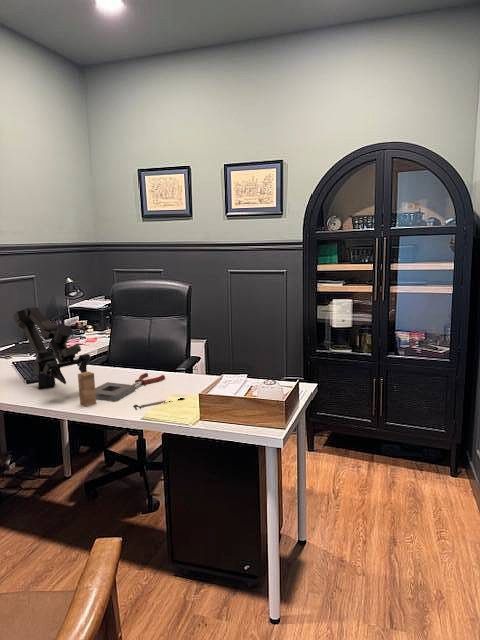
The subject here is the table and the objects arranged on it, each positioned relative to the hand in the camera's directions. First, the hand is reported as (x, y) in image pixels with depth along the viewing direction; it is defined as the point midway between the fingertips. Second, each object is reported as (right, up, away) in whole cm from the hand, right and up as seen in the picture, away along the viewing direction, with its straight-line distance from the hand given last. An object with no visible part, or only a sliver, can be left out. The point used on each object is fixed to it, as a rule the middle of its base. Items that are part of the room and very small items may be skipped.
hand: (76, 380), depth 185 cm
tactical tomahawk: (+35, -9, -5) cm, 37 cm away
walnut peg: (+6, -9, -4) cm, 11 cm away
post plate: (+12, -7, +7) cm, 16 cm away
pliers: (+22, -5, +23) cm, 32 cm away
